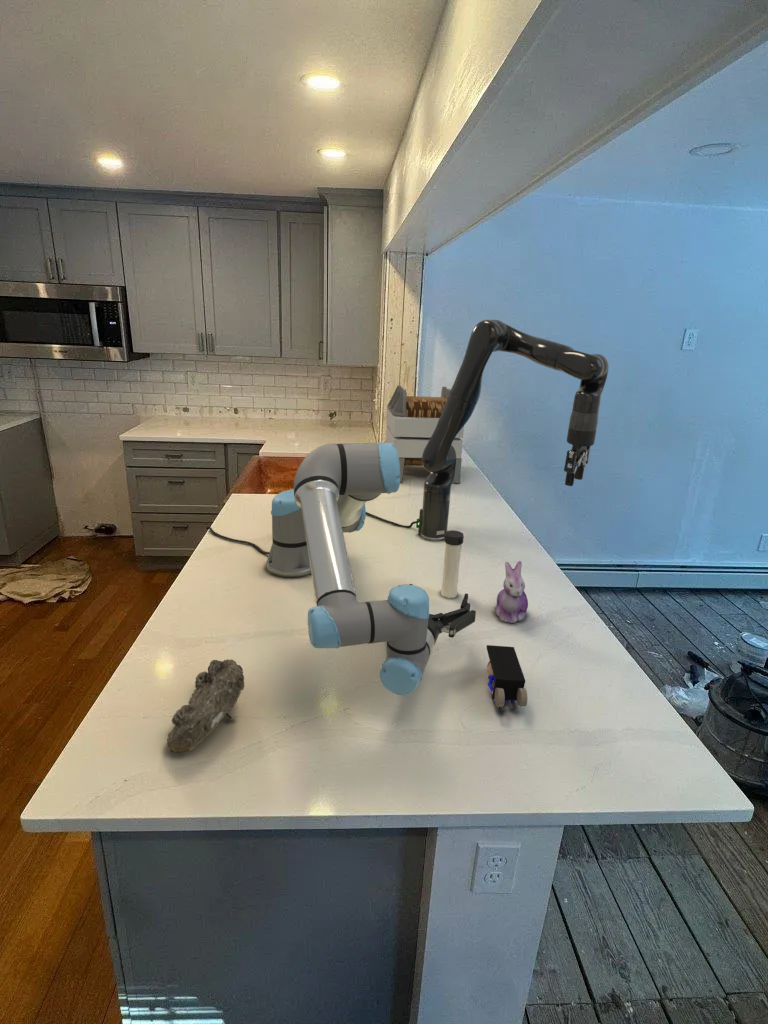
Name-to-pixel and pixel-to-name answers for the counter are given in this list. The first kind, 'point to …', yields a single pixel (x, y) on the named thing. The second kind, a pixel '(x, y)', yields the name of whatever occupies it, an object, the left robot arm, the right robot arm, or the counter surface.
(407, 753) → the counter surface
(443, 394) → the transformer
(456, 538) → the lid
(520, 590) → the figurine
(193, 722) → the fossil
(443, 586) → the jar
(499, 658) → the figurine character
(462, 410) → the right robot arm
